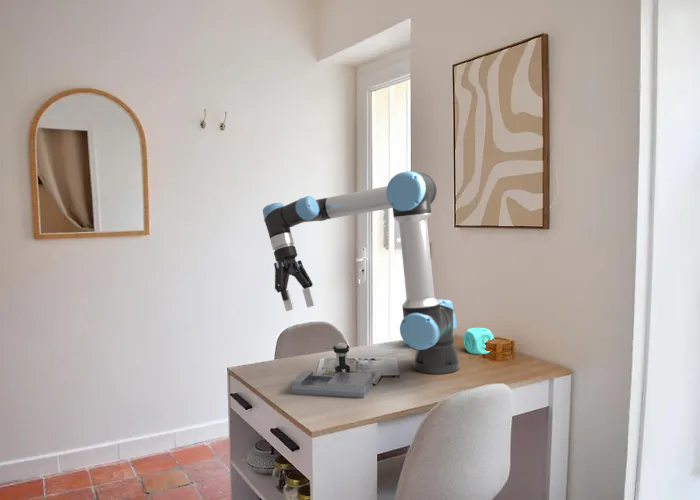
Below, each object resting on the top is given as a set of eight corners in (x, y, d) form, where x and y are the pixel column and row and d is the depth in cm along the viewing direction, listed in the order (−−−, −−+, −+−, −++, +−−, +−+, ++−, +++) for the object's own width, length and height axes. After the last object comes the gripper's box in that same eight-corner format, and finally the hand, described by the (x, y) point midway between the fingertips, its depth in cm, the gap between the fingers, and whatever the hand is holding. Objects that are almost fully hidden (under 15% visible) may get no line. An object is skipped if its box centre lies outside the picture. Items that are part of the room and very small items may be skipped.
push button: (334, 378, 179) (333, 347, 178) (327, 373, 184) (326, 344, 183) (353, 374, 182) (352, 344, 181) (346, 370, 186) (344, 341, 186)
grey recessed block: (372, 385, 170) (372, 373, 170) (364, 398, 159) (363, 385, 159) (304, 382, 176) (304, 370, 176) (292, 393, 165) (291, 381, 165)
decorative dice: (481, 347, 209) (480, 326, 209) (494, 352, 202) (494, 330, 201) (463, 350, 206) (463, 329, 205) (476, 355, 199) (476, 333, 198)
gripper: (294, 251, 202) (310, 307, 199) (253, 251, 180) (271, 314, 177) (311, 245, 199) (327, 302, 196) (272, 244, 177) (290, 308, 174)
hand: (301, 308), depth 187 cm, fingers open, 13 cm apart
